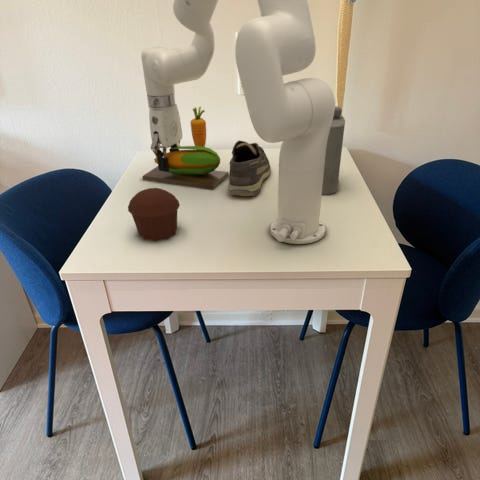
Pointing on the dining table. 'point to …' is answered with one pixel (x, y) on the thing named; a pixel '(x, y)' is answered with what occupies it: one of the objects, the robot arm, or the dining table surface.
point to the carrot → (198, 128)
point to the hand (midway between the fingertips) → (170, 166)
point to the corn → (192, 160)
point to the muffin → (154, 213)
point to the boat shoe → (247, 169)
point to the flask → (333, 153)
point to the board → (187, 178)
